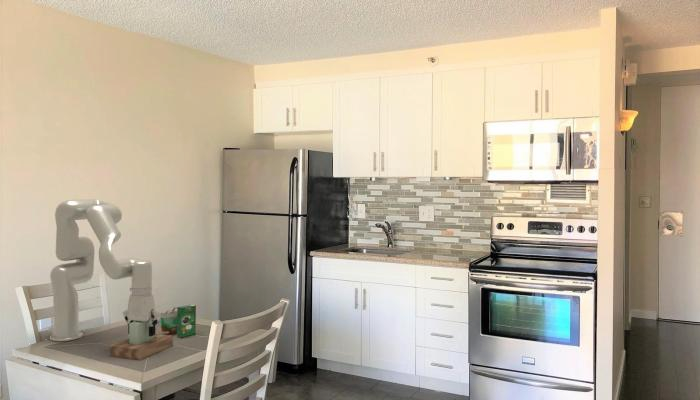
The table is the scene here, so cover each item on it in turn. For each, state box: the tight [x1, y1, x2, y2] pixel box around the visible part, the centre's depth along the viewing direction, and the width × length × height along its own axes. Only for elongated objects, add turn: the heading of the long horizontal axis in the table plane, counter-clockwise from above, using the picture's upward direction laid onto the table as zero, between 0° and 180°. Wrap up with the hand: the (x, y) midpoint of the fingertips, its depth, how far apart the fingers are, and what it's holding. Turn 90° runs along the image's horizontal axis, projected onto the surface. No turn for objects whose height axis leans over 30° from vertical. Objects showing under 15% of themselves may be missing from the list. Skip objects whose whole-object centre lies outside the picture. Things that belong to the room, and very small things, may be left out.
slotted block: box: [109, 333, 174, 361], centre depth 225 cm, size 14×20×4 cm
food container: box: [160, 306, 178, 336], centre depth 251 cm, size 12×6×10 cm, turn 168°
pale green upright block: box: [128, 321, 154, 345], centre depth 225 cm, size 4×10×12 cm, turn 162°
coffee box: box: [176, 304, 197, 339], centre depth 247 cm, size 8×3×13 cm, turn 139°
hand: (141, 334), depth 225 cm, fingers open, 9 cm apart
